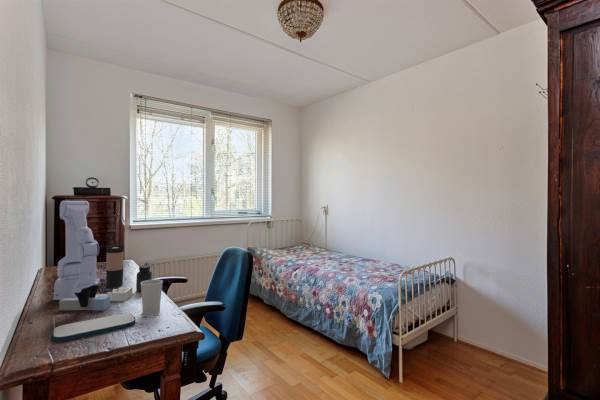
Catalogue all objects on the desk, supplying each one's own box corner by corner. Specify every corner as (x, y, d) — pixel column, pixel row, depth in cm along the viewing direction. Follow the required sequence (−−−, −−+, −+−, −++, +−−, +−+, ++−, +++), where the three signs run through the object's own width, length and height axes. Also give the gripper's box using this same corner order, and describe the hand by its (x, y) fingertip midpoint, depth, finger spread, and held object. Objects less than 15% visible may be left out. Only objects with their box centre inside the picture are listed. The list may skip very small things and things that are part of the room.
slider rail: (74, 301, 132) (74, 293, 132) (86, 295, 141) (86, 287, 141) (124, 301, 134) (124, 292, 134) (133, 294, 143) (133, 287, 143)
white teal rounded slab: (52, 345, 94) (52, 339, 94) (53, 332, 103) (53, 326, 103) (137, 327, 109) (137, 321, 109) (131, 316, 118) (131, 311, 118)
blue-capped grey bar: (57, 311, 121) (58, 299, 121) (65, 307, 126) (65, 296, 126) (104, 310, 123) (104, 299, 123) (110, 306, 128) (110, 295, 128)
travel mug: (102, 286, 155) (103, 247, 155) (116, 283, 162) (117, 245, 162) (112, 288, 152) (113, 248, 152) (126, 284, 159) (127, 246, 159)
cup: (140, 316, 117) (140, 285, 117) (140, 309, 124) (140, 280, 124) (162, 313, 121) (163, 283, 121) (161, 307, 128) (162, 278, 128)
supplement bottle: (145, 293, 146) (145, 268, 146) (132, 292, 147) (133, 267, 147) (154, 289, 153) (155, 265, 153) (142, 288, 154) (143, 264, 154)
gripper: (87, 276, 118) (87, 311, 118) (107, 267, 132) (106, 299, 132) (68, 276, 117) (67, 311, 117) (90, 268, 132) (89, 299, 132)
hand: (87, 305), depth 125 cm, fingers open, 4 cm apart
